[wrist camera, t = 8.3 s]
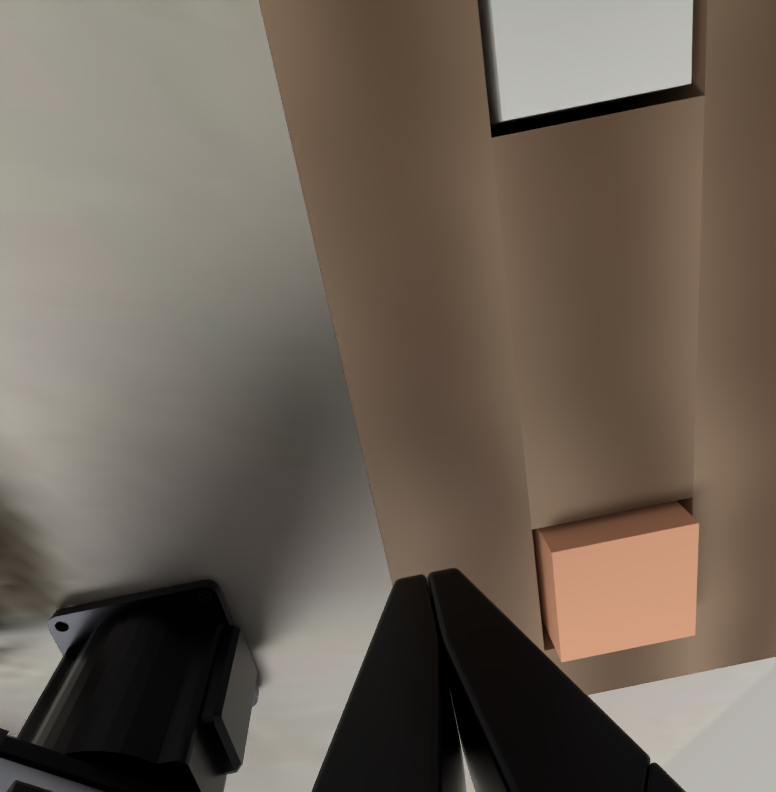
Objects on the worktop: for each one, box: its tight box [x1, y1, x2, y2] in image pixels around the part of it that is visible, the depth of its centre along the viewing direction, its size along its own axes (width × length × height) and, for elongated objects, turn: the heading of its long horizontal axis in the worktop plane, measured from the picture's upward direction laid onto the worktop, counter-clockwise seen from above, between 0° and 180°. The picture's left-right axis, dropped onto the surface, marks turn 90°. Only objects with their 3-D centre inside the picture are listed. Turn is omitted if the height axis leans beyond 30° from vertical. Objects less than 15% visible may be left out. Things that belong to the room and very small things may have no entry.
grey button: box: [477, 0, 693, 127], centre depth 14 cm, size 4×4×4 cm
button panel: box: [259, 0, 776, 722], centre depth 17 cm, size 14×26×4 cm, turn 10°
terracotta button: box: [532, 501, 699, 662], centre depth 19 cm, size 4×4×4 cm
